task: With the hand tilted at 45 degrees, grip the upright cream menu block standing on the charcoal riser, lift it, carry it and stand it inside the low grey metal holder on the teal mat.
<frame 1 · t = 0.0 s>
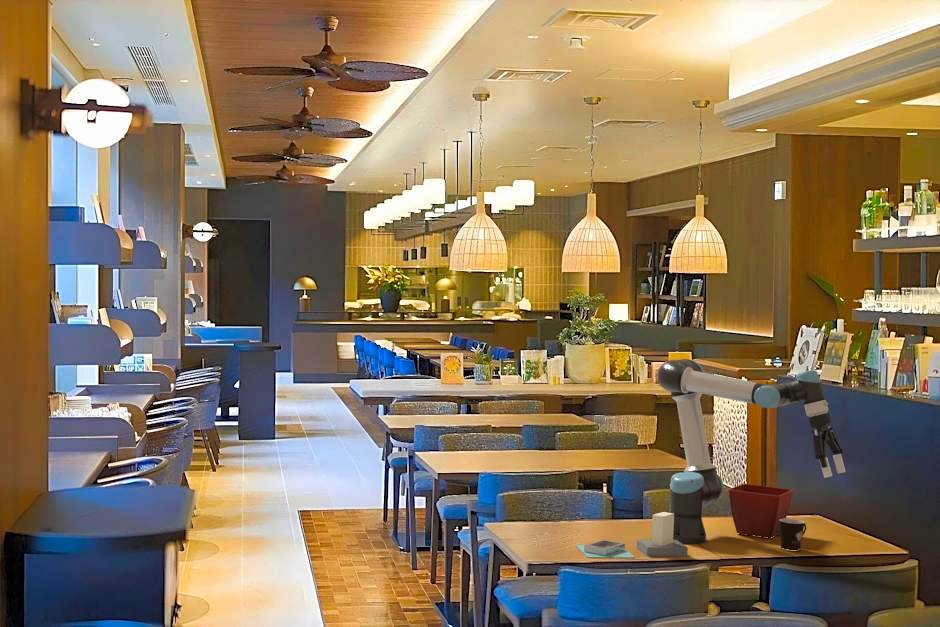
hand: (835, 475, 411), 28 cm above the table, tool tilted 20°, fingers open, 13 cm apart
riser: (661, 552, 406), on the table
mat: (604, 551, 403), on the table
menu block: (662, 543, 406), point 3 cm above the table, touching riser
plant pot: (759, 535, 444), on the table
holder: (604, 551, 403), resting on mat
coffee mug: (794, 550, 419), on the table
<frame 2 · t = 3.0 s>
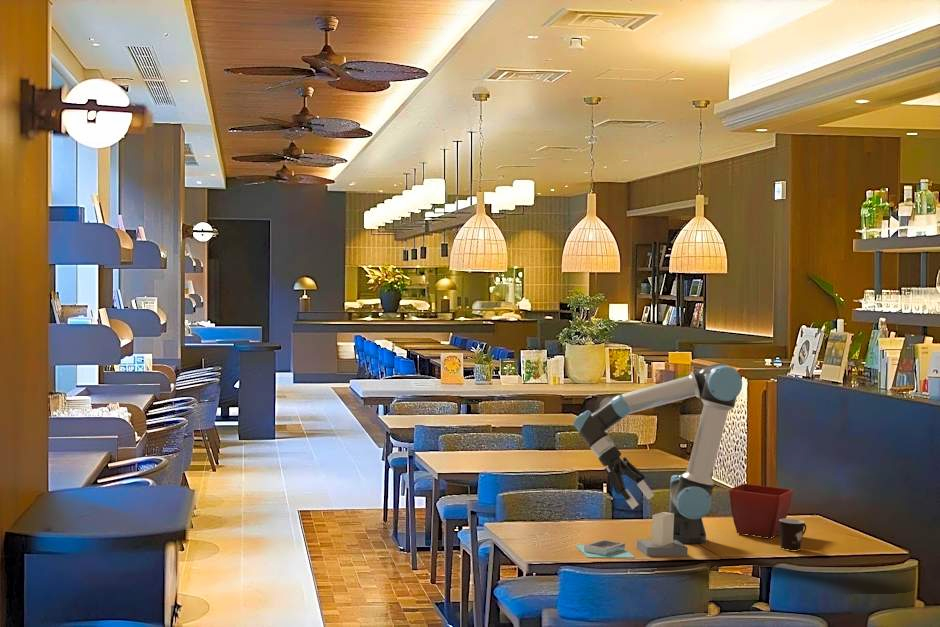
hand: (643, 502, 409), 16 cm above the table, tool tilted 40°, fingers open, 13 cm apart
nothing on the table moved.
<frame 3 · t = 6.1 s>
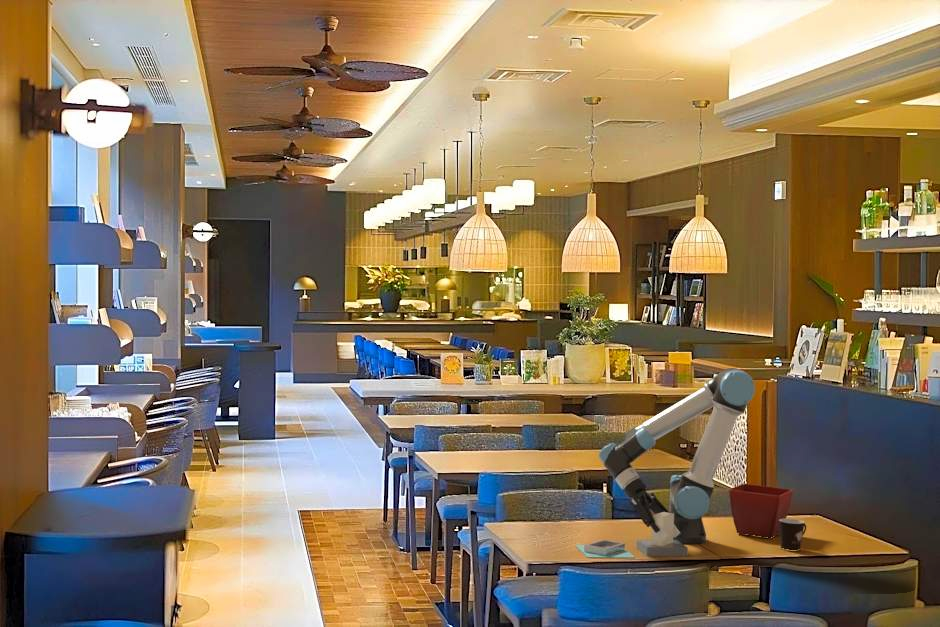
hand: (671, 537, 404), 6 cm above the table, tool tilted 45°, fingers closed on menu block, 8 cm apart
menu block: (662, 543, 406), point 3 cm above the table, touching gripper, riser
everything else where it was.
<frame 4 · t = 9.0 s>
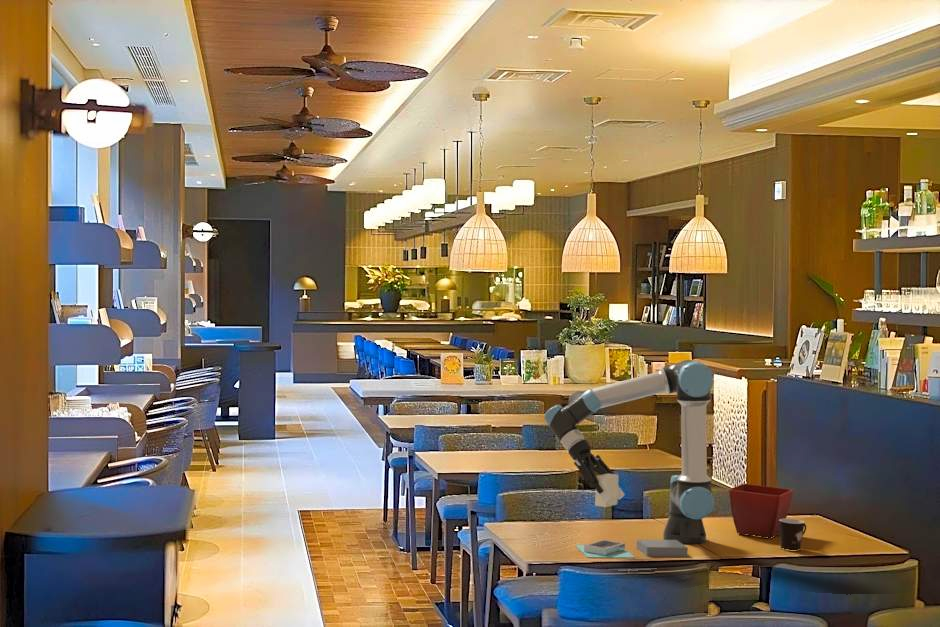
hand: (615, 498, 401), 18 cm above the table, tool tilted 45°, fingers closed on menu block, 8 cm apart
menu block: (606, 504, 403), point 16 cm above the table, touching gripper
everything else where it was.
when the fingers open (5 cm above the table, at t = 11.9 s): menu block drops 1 cm, resting on holder.
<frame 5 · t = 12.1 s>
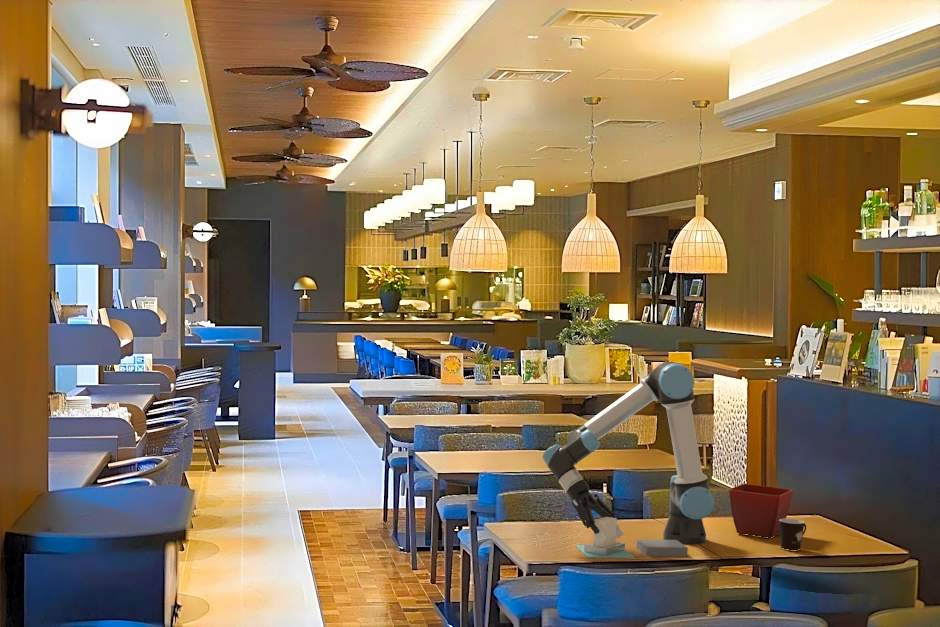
hand: (612, 538, 401), 5 cm above the table, tool tilted 45°, fingers open, 10 cm apart
menu block: (604, 548, 403), point 1 cm above the table, touching holder
everything else where it was.
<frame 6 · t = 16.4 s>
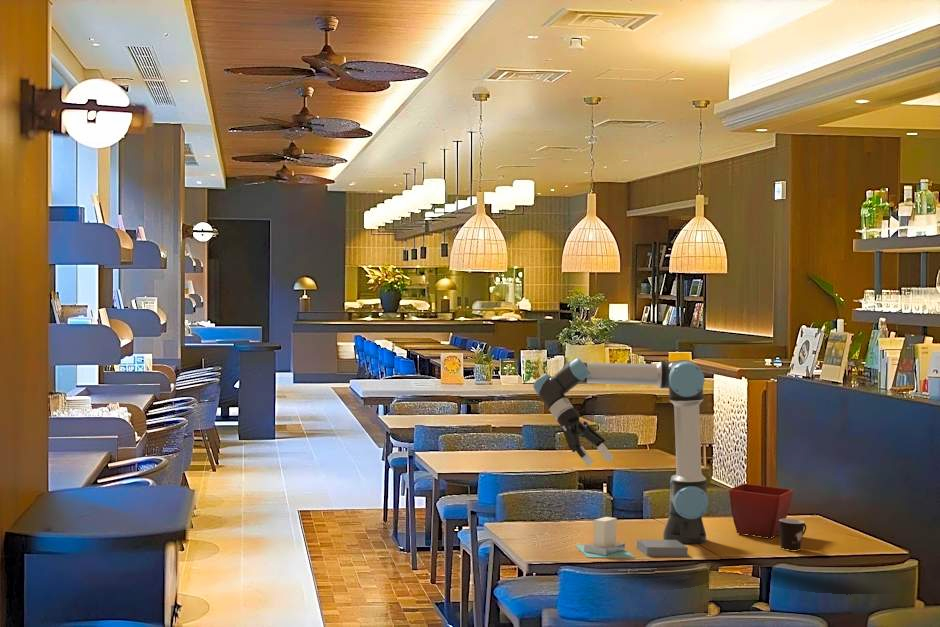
hand: (600, 462, 407), 30 cm above the table, tool tilted 45°, fingers open, 13 cm apart
nothing on the table moved.
at the end: menu block 0.1 cm off-centre on the holder, point 1.1 cm above the holder's base; menu block tilted 0°; the gripper is holding nothing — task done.
